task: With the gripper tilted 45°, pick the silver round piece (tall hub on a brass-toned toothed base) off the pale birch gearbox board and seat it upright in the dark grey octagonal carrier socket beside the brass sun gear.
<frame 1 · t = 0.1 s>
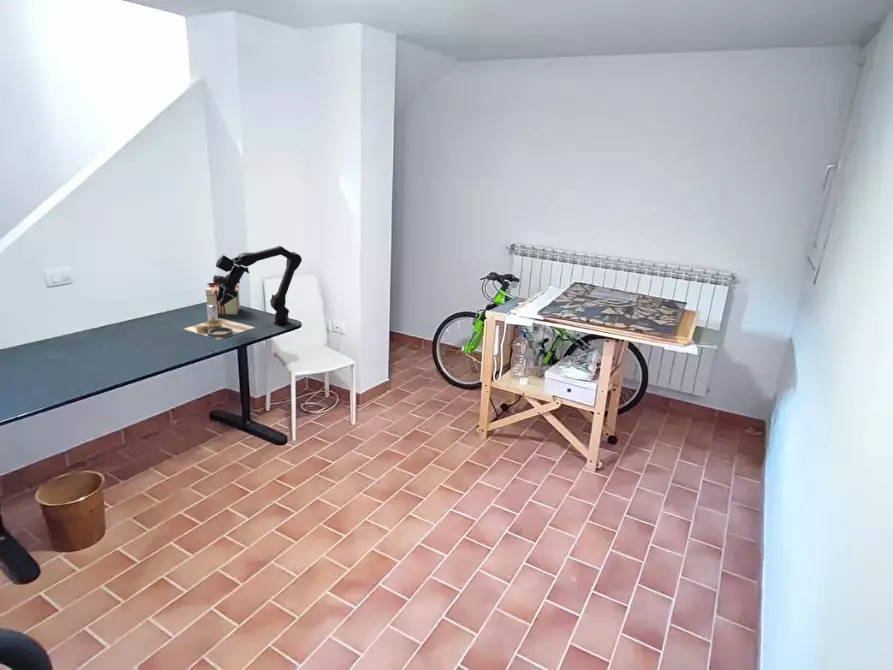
hand: (219, 303, 278), 15 cm above the table, tool tilted 35°, fingers open, 9 cm apart
silver round piece: (213, 326, 287), point 1 cm above the table, touching gearbox board
gearbox board: (219, 330, 284), on the table
gift box: (225, 313, 312), on the table
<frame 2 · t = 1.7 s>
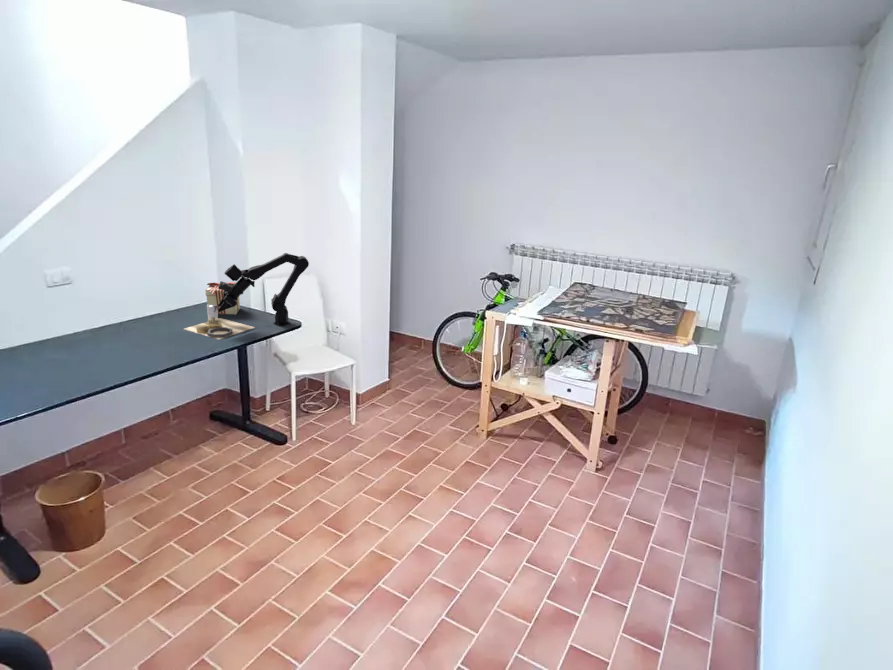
hand: (218, 308, 285), 10 cm above the table, tool tilted 45°, fingers open, 9 cm apart
nothing on the table moved.
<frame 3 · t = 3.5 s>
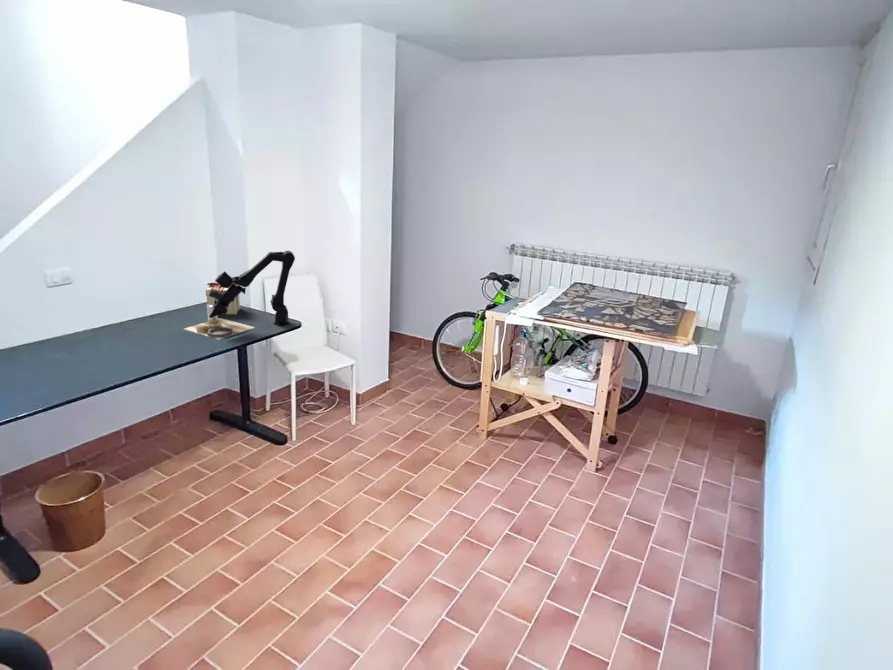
hand: (209, 315, 284), 7 cm above the table, tool tilted 45°, fingers closed on silver round piece, 5 cm apart
silver round piece: (213, 326, 287), point 1 cm above the table, touching gearbox board, gripper
everything else where it was.
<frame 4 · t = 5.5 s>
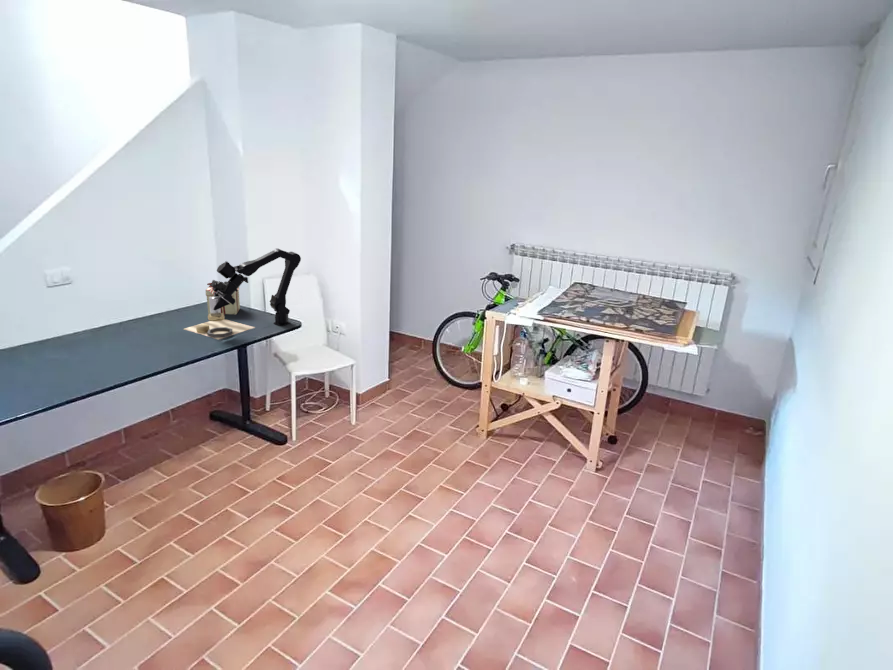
hand: (212, 308, 274), 13 cm above the table, tool tilted 45°, fingers closed on silver round piece, 5 cm apart
silver round piece: (216, 318, 277), point 8 cm above the table, touching gripper
everything else where it was.
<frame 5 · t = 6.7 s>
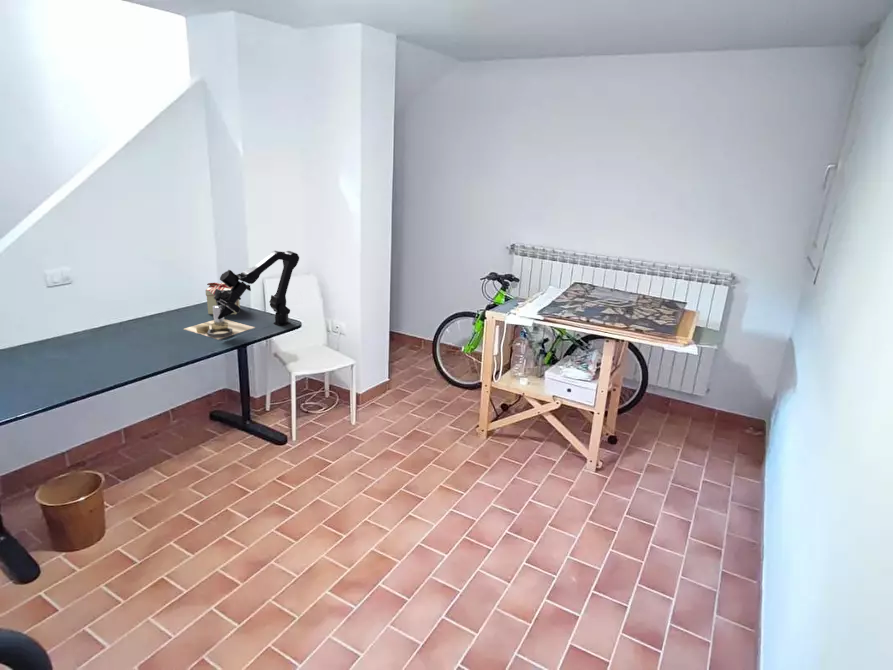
hand: (216, 317, 273), 10 cm above the table, tool tilted 45°, fingers closed on silver round piece, 5 cm apart
silver round piece: (219, 327, 275), point 4 cm above the table, touching gripper
everything else where it was.
when the fingers open (8 cm above the table, at t = 7.5 s): silver round piece drops 1 cm, resting on gearbox board.
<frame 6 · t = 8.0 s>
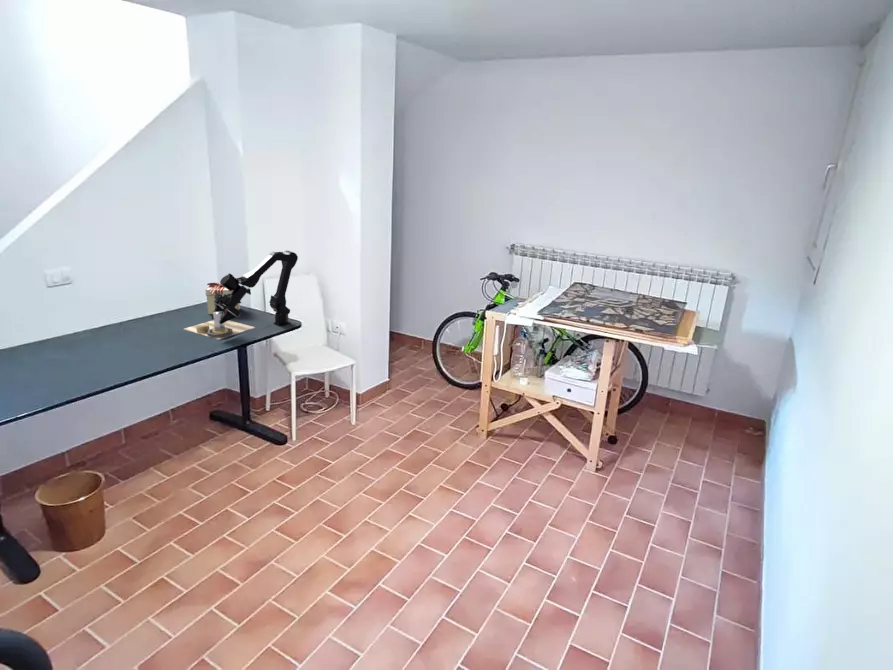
hand: (216, 321, 273), 8 cm above the table, tool tilted 45°, fingers open, 9 cm apart
silver round piece: (220, 333, 276), point 1 cm above the table, touching gearbox board
everything else where it was.
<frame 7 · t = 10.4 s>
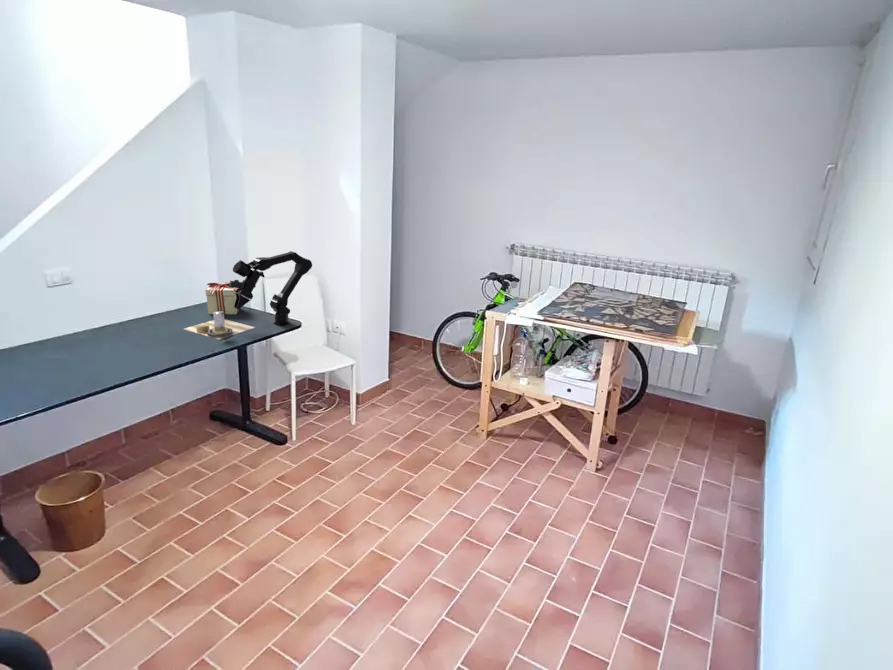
hand: (236, 308, 278), 13 cm above the table, tool tilted 35°, fingers open, 9 cm apart
nothing on the table moved.
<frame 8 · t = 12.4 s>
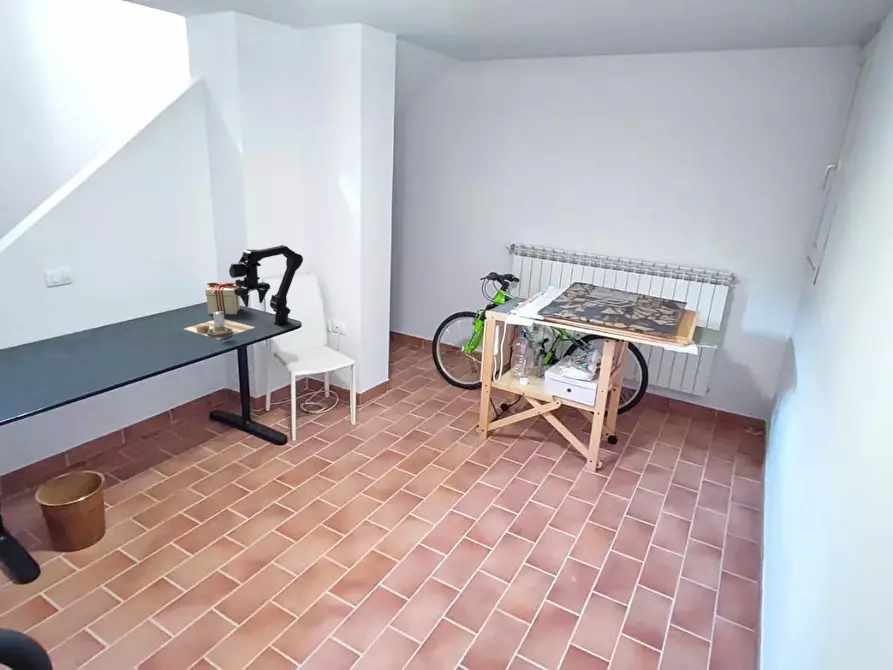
hand: (253, 305, 284), 13 cm above the table, tool pointing down, fingers open, 9 cm apart
nothing on the table moved.
at the end: silver round piece 0.1 cm from the target spot, point 1.0 cm above the table; silver round piece tilted 0°; the gripper is holding nothing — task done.
